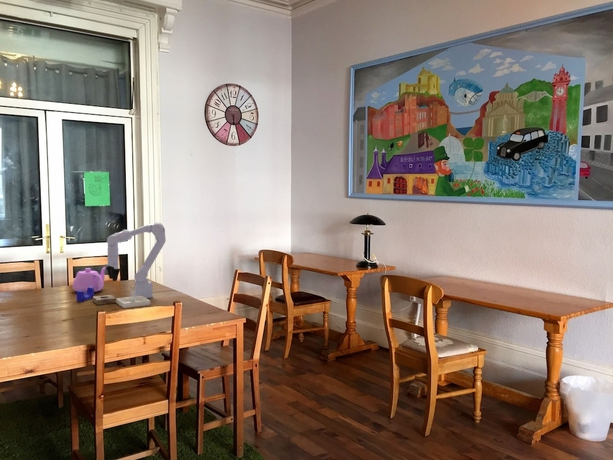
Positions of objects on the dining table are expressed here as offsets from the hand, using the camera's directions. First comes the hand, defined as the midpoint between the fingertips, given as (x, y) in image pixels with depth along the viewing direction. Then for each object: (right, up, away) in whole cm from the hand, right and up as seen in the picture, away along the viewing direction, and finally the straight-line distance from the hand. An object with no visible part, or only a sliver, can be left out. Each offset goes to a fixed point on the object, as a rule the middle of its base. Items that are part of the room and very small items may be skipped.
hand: (113, 279), depth 304 cm
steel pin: (+16, -11, -14) cm, 24 cm away
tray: (+16, -12, -14) cm, 24 cm away
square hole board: (-1, -11, -10) cm, 15 cm away
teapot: (-20, -9, +20) cm, 30 cm away
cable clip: (-15, -11, -4) cm, 19 cm away
